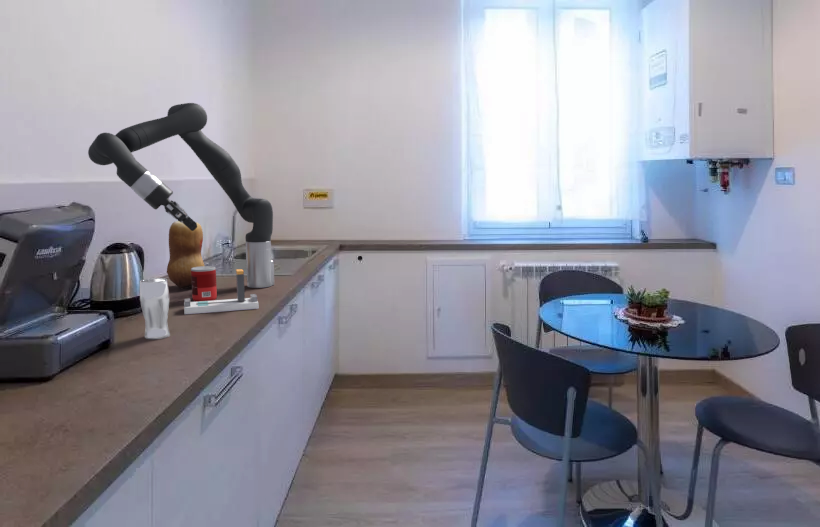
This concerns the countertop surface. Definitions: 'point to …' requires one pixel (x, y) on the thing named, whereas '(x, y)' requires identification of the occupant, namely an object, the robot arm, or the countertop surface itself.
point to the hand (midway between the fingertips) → (195, 227)
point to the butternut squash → (184, 253)
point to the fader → (240, 285)
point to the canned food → (204, 283)
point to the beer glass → (155, 307)
